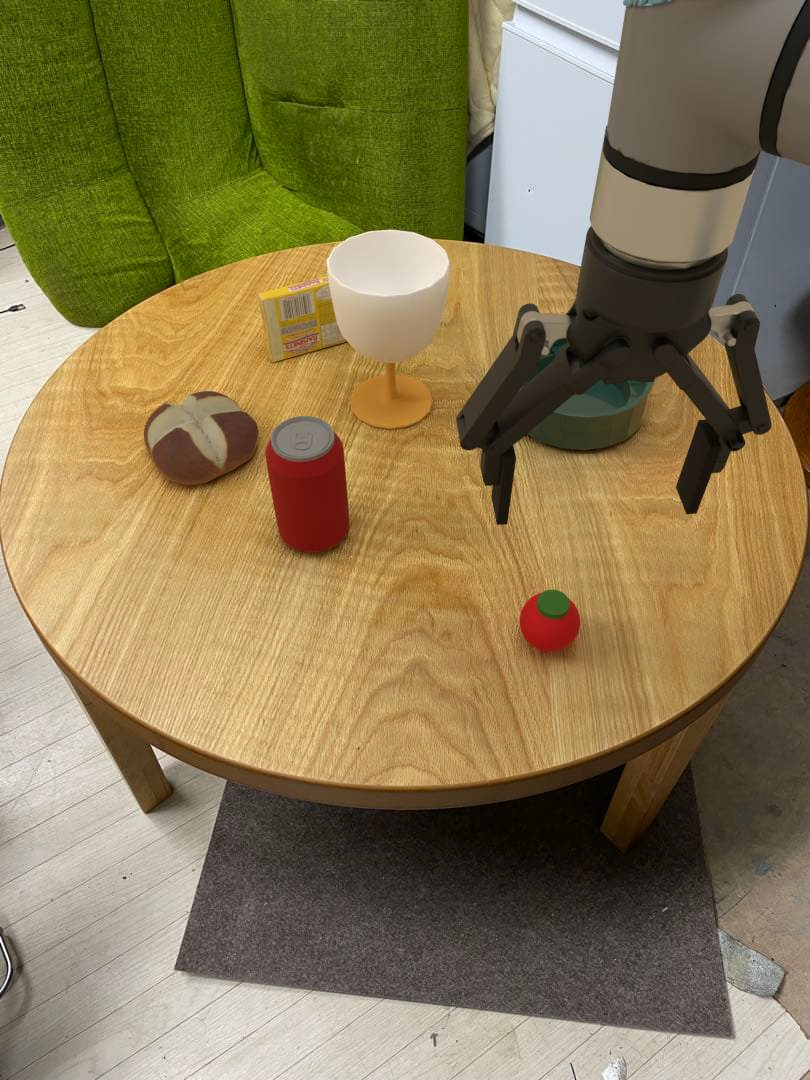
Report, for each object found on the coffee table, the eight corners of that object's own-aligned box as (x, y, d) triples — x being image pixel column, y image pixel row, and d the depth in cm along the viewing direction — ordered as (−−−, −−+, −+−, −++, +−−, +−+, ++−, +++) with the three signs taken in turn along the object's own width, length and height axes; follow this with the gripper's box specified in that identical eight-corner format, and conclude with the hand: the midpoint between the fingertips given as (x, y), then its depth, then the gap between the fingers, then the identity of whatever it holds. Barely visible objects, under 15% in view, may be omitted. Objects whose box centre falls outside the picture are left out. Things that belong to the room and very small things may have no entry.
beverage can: (351, 504, 84) (344, 409, 75) (348, 558, 80) (340, 464, 71) (282, 505, 84) (266, 410, 75) (275, 558, 80) (258, 464, 71)
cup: (422, 359, 99) (424, 220, 87) (461, 422, 92) (469, 281, 79) (324, 381, 97) (310, 242, 84) (356, 449, 90) (347, 307, 77)
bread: (167, 500, 85) (156, 464, 81) (138, 430, 92) (127, 393, 88) (274, 466, 88) (268, 429, 84) (239, 400, 95) (232, 363, 91)
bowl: (660, 384, 96) (670, 347, 92) (619, 471, 87) (629, 434, 83) (532, 348, 101) (536, 311, 97) (480, 427, 92) (483, 390, 88)
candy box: (394, 318, 105) (392, 256, 98) (401, 328, 103) (400, 266, 97) (266, 353, 100) (256, 291, 94) (272, 363, 99) (262, 301, 93)
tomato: (583, 627, 75) (593, 590, 71) (564, 672, 72) (572, 636, 68) (529, 607, 76) (535, 569, 72) (507, 650, 73) (513, 613, 69)
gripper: (856, 190, 49) (745, 460, 65) (419, 206, 48) (415, 477, 64) (917, 262, 44) (781, 534, 60) (432, 283, 43) (424, 555, 59)
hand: (593, 505), depth 62 cm, fingers open, 13 cm apart
